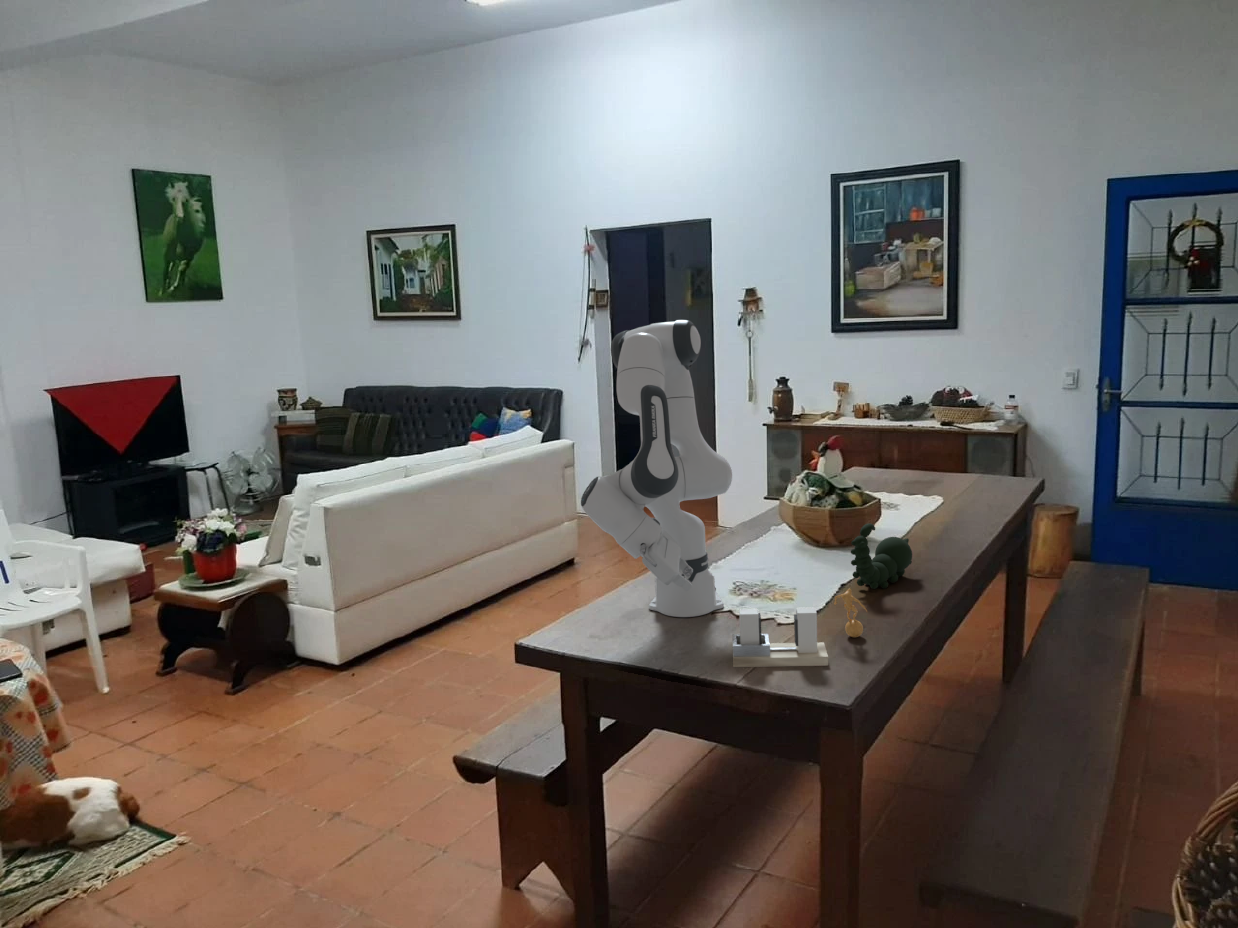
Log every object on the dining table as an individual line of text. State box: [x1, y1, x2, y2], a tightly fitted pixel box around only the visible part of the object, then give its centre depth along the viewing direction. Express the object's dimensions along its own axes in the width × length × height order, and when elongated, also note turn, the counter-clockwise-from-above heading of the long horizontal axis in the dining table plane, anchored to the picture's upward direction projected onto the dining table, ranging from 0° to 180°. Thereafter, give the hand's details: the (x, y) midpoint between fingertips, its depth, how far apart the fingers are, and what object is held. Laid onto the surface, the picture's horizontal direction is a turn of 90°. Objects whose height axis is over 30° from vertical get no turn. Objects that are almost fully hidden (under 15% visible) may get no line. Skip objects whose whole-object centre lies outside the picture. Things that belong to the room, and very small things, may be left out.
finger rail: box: [731, 606, 829, 668], centre depth 208 cm, size 8×20×11 cm, turn 85°
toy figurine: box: [850, 523, 913, 590], centre depth 252 cm, size 9×19×25 cm
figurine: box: [833, 588, 868, 638], centre depth 217 cm, size 8×6×12 cm
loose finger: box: [738, 607, 762, 645], centre depth 208 cm, size 4×4×9 cm
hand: (690, 580), depth 207 cm, fingers open, 8 cm apart
